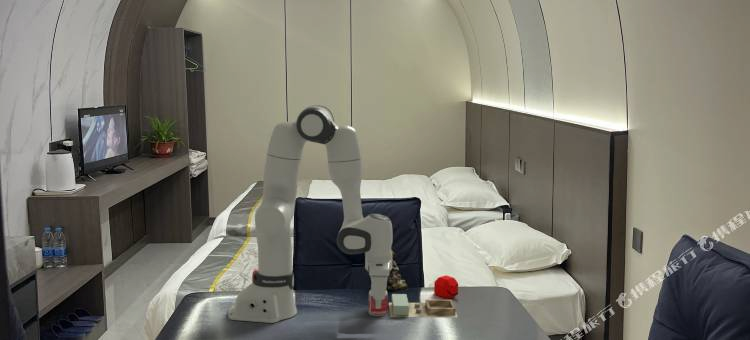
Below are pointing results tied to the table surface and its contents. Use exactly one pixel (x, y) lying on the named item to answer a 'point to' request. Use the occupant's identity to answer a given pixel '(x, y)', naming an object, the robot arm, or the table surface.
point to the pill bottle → (372, 305)
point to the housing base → (429, 309)
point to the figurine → (395, 278)
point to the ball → (446, 287)
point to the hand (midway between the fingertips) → (377, 304)
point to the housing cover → (400, 304)
